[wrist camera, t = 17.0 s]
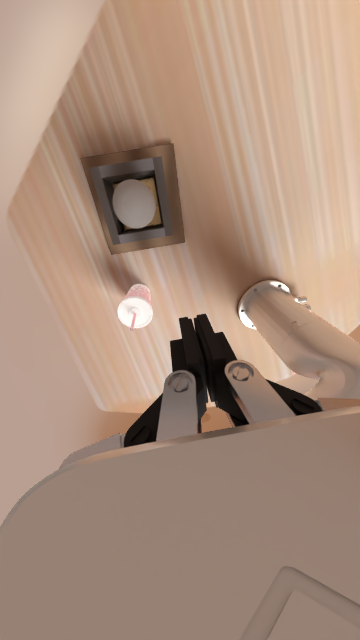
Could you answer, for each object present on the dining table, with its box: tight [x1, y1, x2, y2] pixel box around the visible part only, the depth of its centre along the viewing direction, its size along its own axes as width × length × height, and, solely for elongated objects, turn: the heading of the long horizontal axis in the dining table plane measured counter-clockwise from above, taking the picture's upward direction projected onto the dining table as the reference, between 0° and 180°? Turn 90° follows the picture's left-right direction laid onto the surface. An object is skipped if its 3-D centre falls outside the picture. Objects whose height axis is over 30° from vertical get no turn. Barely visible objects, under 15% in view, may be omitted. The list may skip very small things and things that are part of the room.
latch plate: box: [113, 178, 161, 230], centre depth 31 cm, size 6×6×1 cm
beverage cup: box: [117, 284, 153, 331], centre depth 35 cm, size 6×6×14 cm
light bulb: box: [113, 179, 156, 228], centre depth 27 cm, size 6×6×10 cm
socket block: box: [81, 144, 185, 255], centre depth 30 cm, size 14×14×7 cm
